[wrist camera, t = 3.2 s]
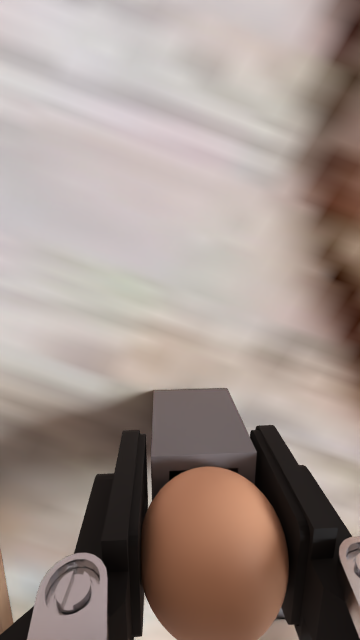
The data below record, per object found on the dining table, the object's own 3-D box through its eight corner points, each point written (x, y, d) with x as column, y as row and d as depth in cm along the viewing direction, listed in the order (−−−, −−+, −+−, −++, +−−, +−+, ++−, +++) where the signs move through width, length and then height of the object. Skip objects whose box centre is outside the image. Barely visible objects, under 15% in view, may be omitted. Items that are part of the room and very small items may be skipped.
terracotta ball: (140, 441, 9) (127, 569, 5) (264, 436, 9) (329, 556, 6) (143, 541, 10) (135, 708, 6) (257, 535, 10) (309, 692, 6)
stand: (153, 390, 13) (151, 456, 9) (227, 388, 13) (256, 452, 9) (155, 455, 13) (153, 542, 9) (224, 452, 13) (251, 536, 10)
